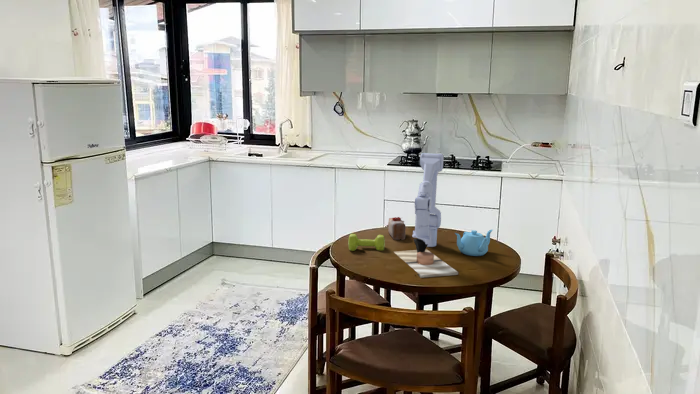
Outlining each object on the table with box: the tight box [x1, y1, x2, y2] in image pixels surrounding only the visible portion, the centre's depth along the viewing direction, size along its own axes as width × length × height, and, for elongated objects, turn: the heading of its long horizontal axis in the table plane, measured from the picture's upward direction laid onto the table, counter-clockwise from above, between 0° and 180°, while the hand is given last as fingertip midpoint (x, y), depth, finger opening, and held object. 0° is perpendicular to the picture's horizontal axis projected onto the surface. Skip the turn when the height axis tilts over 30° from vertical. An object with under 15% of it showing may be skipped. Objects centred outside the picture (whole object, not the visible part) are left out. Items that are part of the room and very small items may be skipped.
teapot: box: [454, 229, 493, 257], centre depth 232 cm, size 15×15×10 cm
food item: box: [387, 216, 407, 241], centre depth 257 cm, size 14×8×10 cm, turn 7°
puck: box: [416, 251, 435, 265], centre depth 215 cm, size 7×7×4 cm
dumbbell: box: [347, 233, 386, 252], centre depth 234 cm, size 16×8×7 cm, turn 85°
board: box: [393, 248, 459, 279], centre depth 217 cm, size 31×16×1 cm, turn 15°
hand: (420, 255), depth 220 cm, fingers closed
